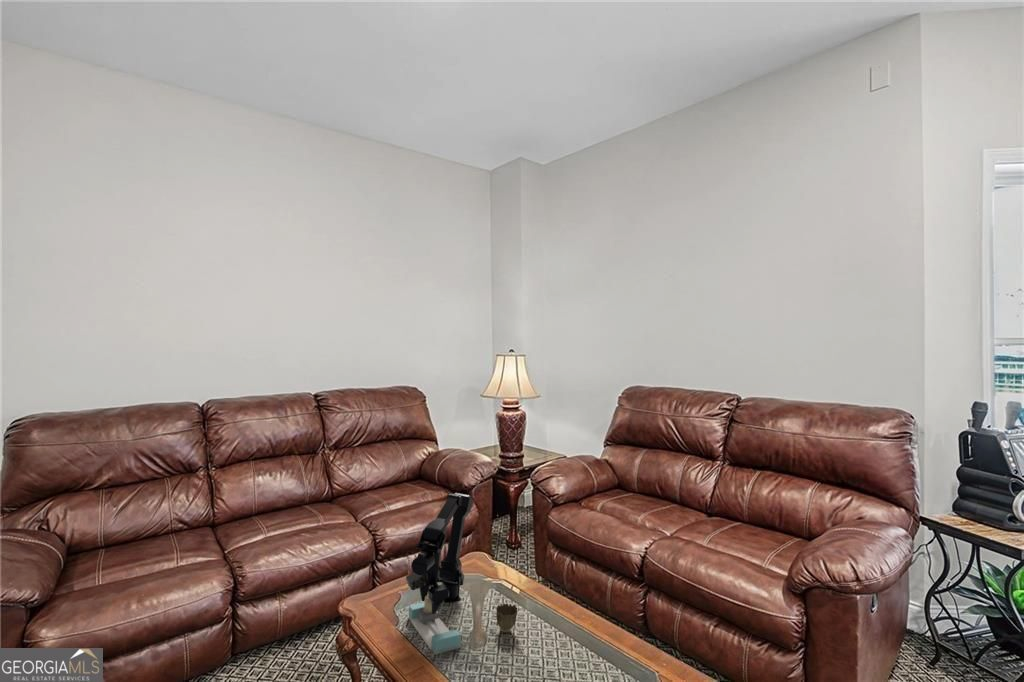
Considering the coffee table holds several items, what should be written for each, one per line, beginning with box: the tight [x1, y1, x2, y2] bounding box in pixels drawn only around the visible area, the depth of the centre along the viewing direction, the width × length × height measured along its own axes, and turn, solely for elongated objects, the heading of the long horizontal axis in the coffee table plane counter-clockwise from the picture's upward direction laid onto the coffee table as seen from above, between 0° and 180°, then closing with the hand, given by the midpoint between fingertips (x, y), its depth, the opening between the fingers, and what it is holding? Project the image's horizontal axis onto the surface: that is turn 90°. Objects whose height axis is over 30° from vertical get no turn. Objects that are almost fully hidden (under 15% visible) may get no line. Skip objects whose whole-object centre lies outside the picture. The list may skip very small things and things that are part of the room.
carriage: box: [417, 594, 439, 624], centre depth 183 cm, size 6×4×8 cm
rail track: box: [407, 602, 462, 656], centre depth 179 cm, size 9×23×4 cm, turn 32°
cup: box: [495, 603, 518, 634], centre depth 183 cm, size 8×7×8 cm
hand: (428, 607), depth 183 cm, fingers open, 9 cm apart
